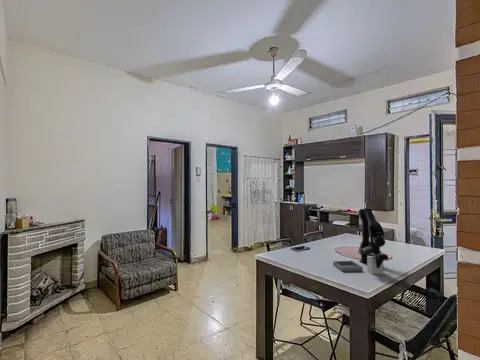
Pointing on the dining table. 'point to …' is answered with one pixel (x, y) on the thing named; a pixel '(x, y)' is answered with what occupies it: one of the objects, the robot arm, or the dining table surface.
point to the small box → (373, 266)
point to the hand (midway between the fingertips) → (375, 266)
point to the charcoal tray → (347, 266)
